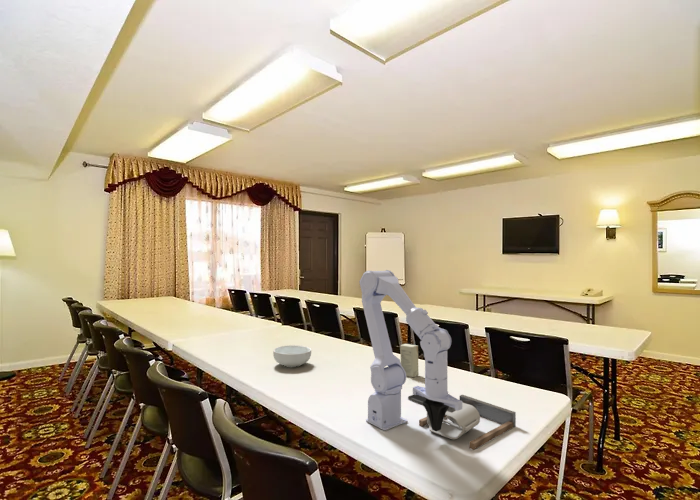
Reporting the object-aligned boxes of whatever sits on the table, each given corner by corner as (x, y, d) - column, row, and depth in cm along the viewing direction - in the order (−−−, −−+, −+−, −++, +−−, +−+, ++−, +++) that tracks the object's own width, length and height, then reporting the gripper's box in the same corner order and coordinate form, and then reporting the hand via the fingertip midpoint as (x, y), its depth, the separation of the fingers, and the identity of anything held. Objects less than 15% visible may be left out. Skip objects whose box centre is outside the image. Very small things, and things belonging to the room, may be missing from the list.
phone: (444, 410, 112) (406, 396, 123) (444, 414, 112) (406, 400, 123) (458, 404, 117) (421, 391, 129) (458, 408, 117) (421, 394, 129)
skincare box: (418, 375, 150) (418, 345, 150) (413, 377, 146) (413, 347, 147) (405, 372, 154) (405, 343, 154) (399, 374, 151) (399, 344, 151)
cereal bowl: (285, 373, 152) (285, 355, 152) (266, 364, 164) (266, 348, 164) (318, 365, 163) (318, 349, 163) (298, 358, 175) (298, 343, 176)
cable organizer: (444, 395, 109) (421, 406, 101) (484, 406, 100) (463, 420, 92) (444, 418, 109) (422, 431, 101) (484, 431, 100) (463, 446, 92)
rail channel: (473, 450, 90) (473, 433, 90) (419, 425, 104) (419, 410, 104) (515, 426, 103) (515, 412, 103) (462, 407, 117) (462, 394, 117)
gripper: (469, 380, 92) (469, 435, 92) (424, 367, 103) (424, 416, 103) (452, 386, 88) (453, 443, 87) (407, 372, 99) (407, 423, 98)
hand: (436, 429), depth 95 cm, fingers closed
